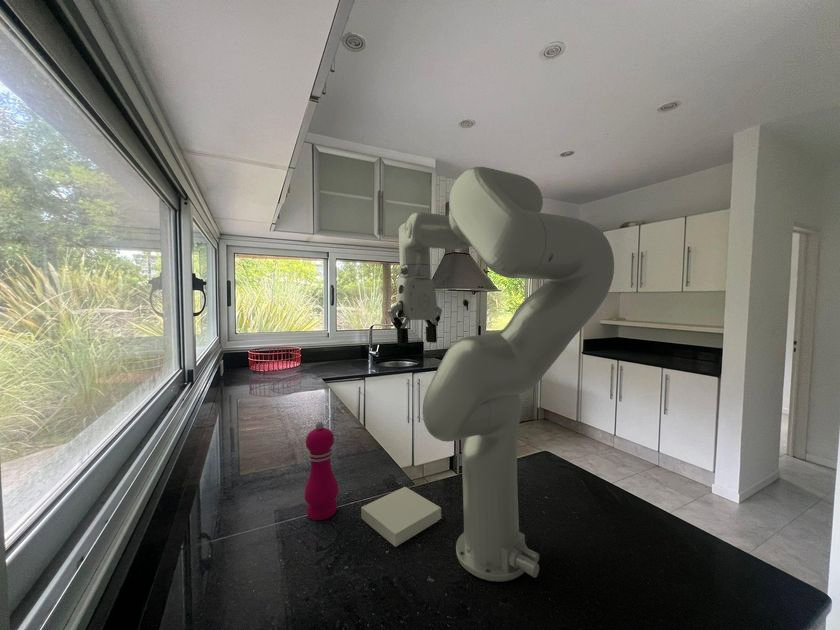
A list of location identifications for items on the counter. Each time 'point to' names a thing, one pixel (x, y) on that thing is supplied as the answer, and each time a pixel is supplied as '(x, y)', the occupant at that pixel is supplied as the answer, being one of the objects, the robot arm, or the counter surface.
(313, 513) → the pepper mill
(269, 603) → the counter surface
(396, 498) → the glazed tile
